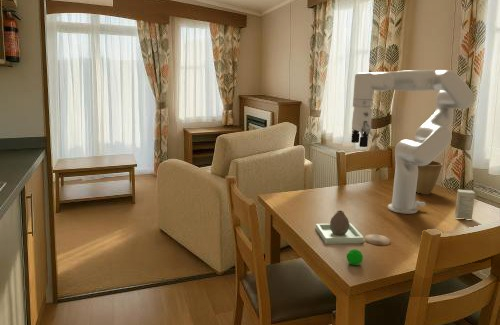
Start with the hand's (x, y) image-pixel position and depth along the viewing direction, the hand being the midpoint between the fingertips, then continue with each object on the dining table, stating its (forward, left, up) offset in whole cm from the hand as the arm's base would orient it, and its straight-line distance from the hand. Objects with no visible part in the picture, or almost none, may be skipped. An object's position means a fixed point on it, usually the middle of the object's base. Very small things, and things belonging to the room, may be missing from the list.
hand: (359, 144), depth 172 cm
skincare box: (-45, +8, -31) cm, 55 cm away
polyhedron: (+16, +47, -31) cm, 58 cm away
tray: (+14, +24, -30) cm, 41 cm away
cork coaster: (+1, +29, -30) cm, 42 cm away
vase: (+14, +24, -30) cm, 41 cm away
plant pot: (-47, -30, -31) cm, 64 cm away
